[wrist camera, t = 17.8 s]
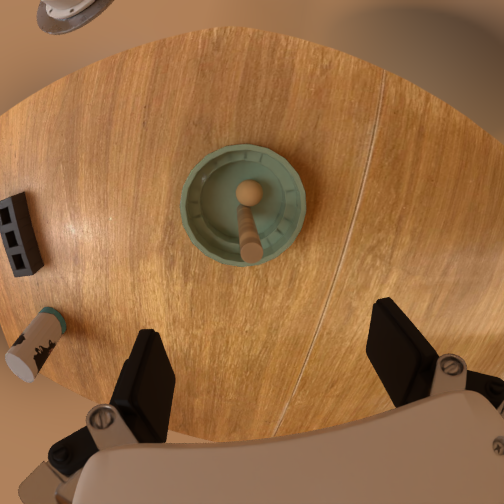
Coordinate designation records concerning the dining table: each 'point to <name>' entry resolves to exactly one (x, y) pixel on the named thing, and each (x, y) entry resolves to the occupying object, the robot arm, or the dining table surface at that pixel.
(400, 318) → the robot arm
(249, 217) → the stick
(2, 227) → the holder
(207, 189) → the bowl
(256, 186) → the dough ball
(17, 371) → the printed cylindrical canister
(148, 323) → the dining table surface
